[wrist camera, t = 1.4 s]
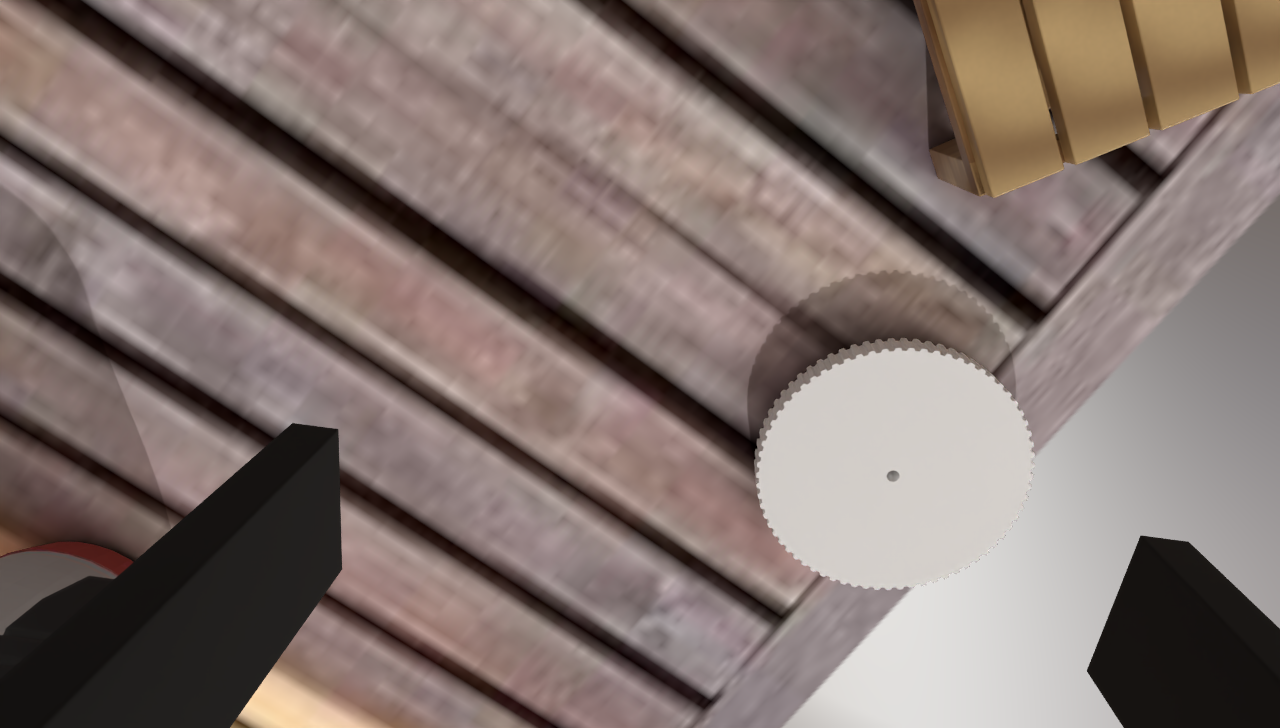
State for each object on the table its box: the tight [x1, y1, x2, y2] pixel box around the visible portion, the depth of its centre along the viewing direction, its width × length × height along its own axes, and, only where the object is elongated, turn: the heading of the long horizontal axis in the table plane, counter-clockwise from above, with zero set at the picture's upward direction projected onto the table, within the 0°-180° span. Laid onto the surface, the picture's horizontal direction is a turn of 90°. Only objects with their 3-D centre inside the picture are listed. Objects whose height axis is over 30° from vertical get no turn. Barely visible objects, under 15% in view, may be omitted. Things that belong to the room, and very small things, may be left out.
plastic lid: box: [754, 338, 1035, 590], centre depth 42 cm, size 14×14×2 cm
